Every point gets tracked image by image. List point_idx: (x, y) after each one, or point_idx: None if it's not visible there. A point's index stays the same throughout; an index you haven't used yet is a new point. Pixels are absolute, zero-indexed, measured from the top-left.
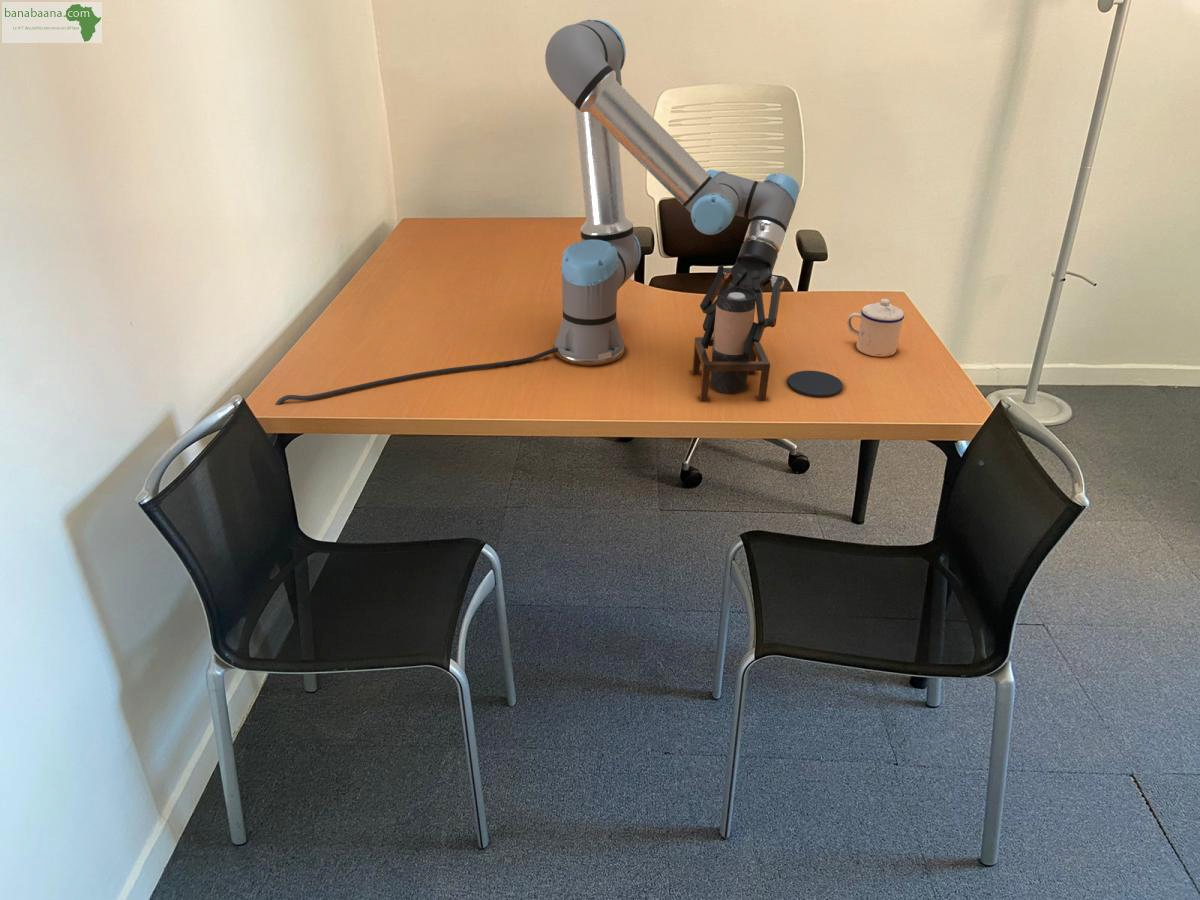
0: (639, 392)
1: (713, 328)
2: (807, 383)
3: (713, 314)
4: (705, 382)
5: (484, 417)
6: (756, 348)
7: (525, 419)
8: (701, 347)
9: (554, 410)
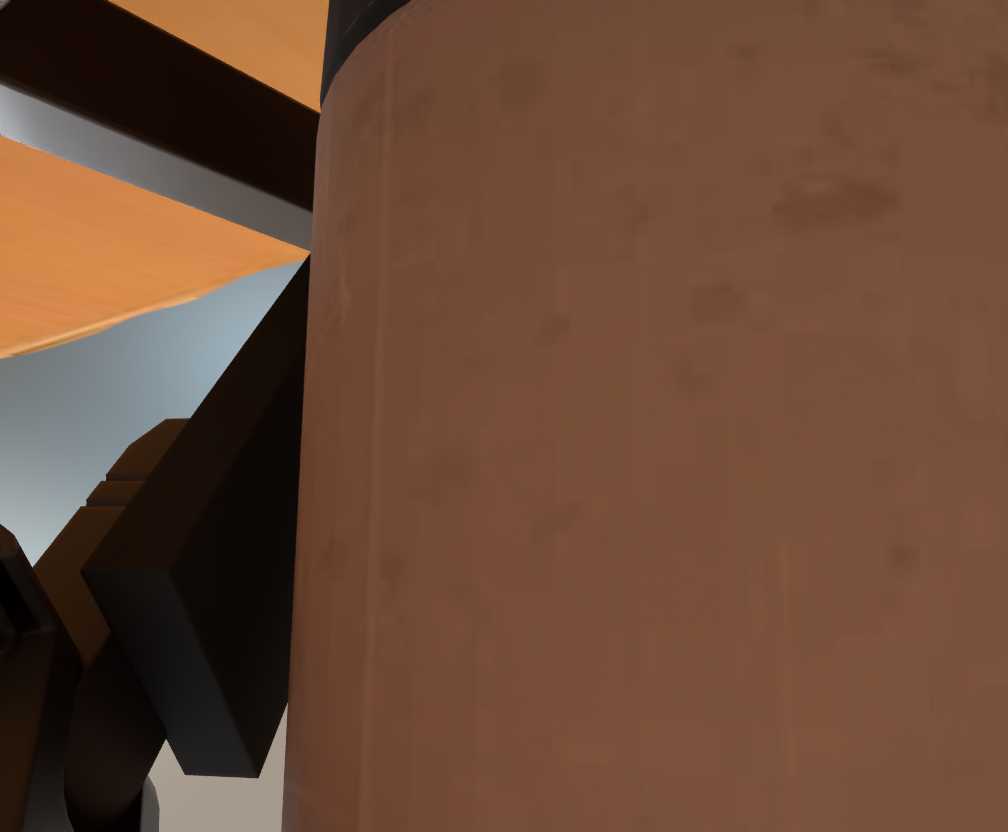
0: None
1: (283, 466)
2: None
3: (231, 762)
4: None
5: (15, 343)
6: None
7: (97, 324)
8: (250, 210)
9: (82, 287)
